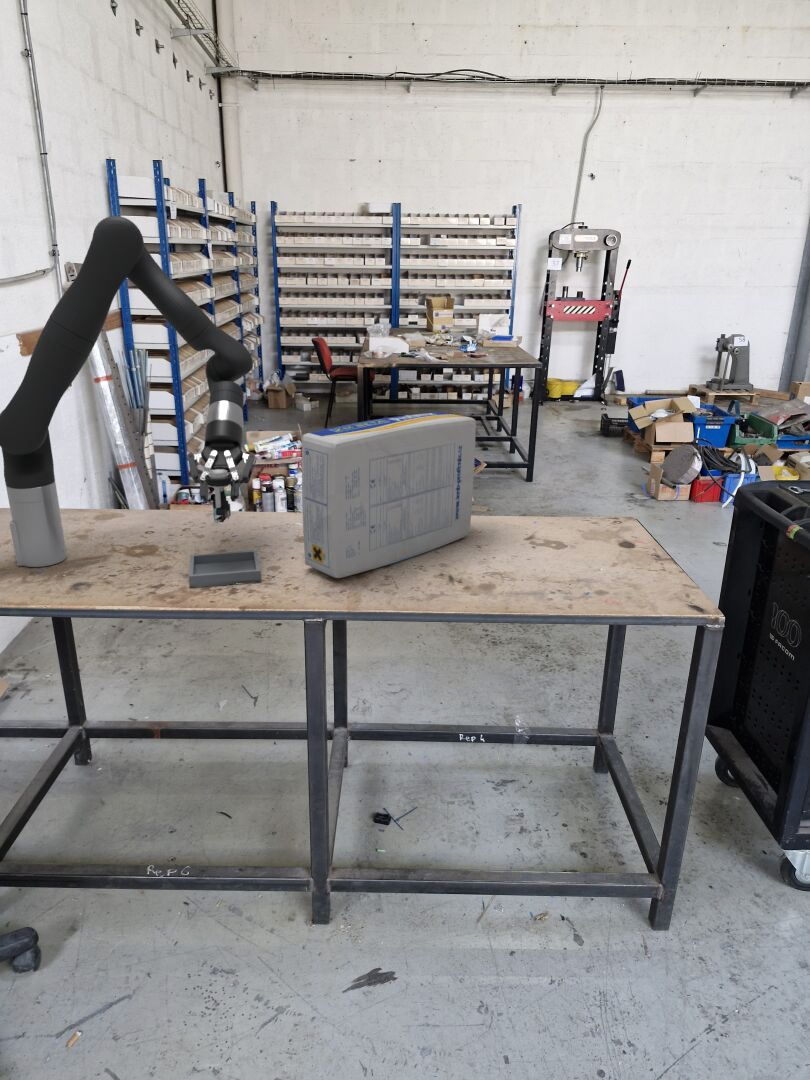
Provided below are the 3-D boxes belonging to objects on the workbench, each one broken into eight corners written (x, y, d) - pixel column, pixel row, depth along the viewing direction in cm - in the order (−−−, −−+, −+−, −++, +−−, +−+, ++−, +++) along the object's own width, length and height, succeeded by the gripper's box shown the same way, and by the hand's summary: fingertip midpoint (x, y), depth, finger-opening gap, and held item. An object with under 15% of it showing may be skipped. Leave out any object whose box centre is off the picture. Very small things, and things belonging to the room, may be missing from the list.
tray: (189, 588, 141) (188, 576, 140) (191, 565, 152) (190, 554, 151) (261, 582, 145) (260, 570, 144) (257, 560, 156) (257, 550, 155)
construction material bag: (437, 526, 180) (442, 407, 169) (472, 538, 172) (479, 414, 162) (301, 569, 151) (296, 430, 141) (335, 586, 144) (332, 440, 133)
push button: (229, 525, 141) (225, 477, 138) (202, 524, 141) (198, 476, 138) (238, 515, 147) (235, 468, 144) (212, 514, 148) (209, 467, 144)
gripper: (185, 417, 145) (178, 491, 138) (256, 418, 146) (252, 490, 139) (193, 437, 152) (186, 508, 145) (261, 437, 153) (257, 508, 146)
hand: (219, 499), depth 142 cm, fingers closed on push button, 5 cm apart
